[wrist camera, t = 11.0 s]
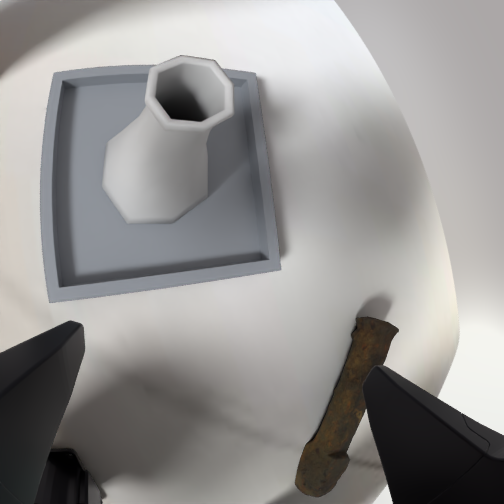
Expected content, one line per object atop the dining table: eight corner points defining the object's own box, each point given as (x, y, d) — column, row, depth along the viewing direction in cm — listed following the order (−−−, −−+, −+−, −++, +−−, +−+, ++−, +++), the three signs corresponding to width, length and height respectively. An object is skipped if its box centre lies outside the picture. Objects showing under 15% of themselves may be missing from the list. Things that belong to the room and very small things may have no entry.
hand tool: (350, 310, 25) (388, 317, 21) (375, 322, 27) (411, 329, 23) (271, 482, 22) (295, 509, 18) (301, 481, 23) (326, 504, 19)
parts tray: (56, 298, 15) (49, 303, 14) (57, 87, 15) (53, 72, 13) (267, 269, 22) (281, 270, 20) (245, 85, 21) (255, 72, 19)
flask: (223, 207, 19) (312, 165, 10) (118, 242, 17) (109, 223, 7) (192, 112, 19) (252, 18, 9) (90, 137, 16) (76, 36, 7)
